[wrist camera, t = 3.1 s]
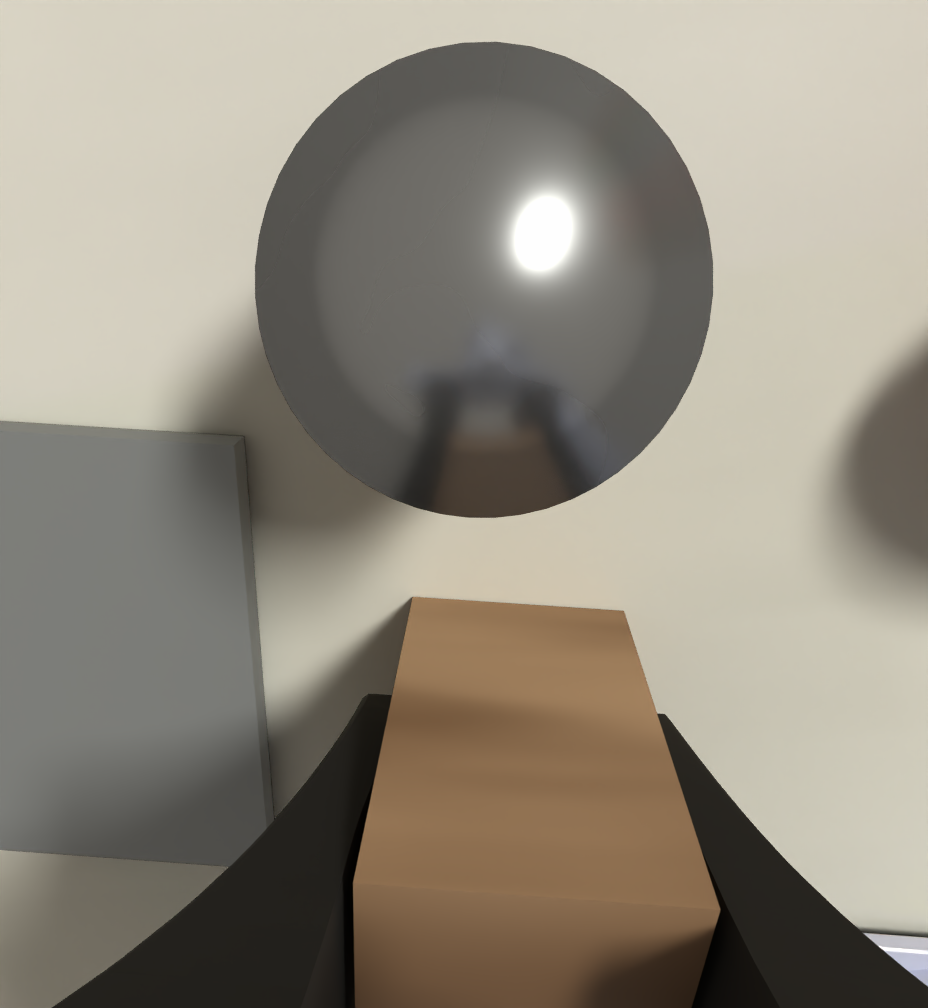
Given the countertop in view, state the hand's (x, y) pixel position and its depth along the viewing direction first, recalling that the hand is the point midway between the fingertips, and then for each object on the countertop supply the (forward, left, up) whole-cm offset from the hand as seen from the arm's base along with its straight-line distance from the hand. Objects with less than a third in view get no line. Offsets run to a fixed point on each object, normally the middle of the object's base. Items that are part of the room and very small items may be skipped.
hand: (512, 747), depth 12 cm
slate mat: (0, +10, -2) cm, 10 cm away
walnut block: (0, 0, -2) cm, 2 cm away
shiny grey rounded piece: (+8, +1, -2) cm, 8 cm away
